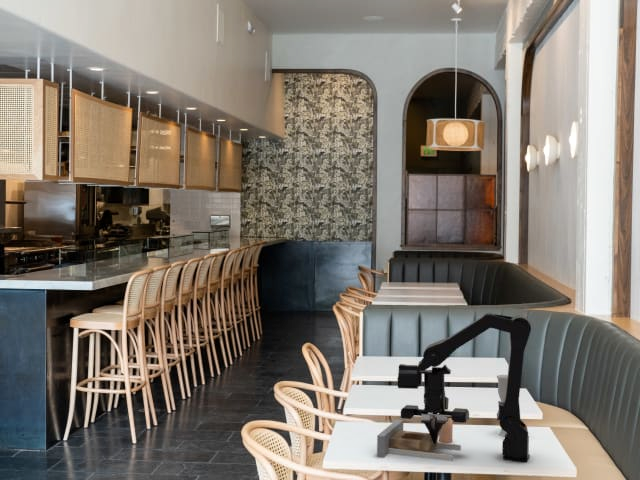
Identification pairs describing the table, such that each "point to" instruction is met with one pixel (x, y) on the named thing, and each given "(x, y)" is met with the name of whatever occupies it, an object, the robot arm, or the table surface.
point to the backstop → (385, 449)
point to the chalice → (502, 393)
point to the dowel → (446, 432)
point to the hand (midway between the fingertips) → (435, 443)
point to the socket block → (412, 441)
